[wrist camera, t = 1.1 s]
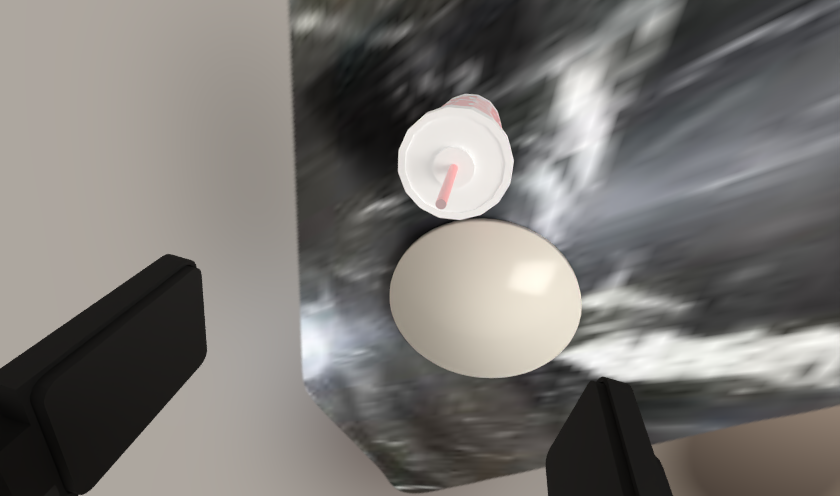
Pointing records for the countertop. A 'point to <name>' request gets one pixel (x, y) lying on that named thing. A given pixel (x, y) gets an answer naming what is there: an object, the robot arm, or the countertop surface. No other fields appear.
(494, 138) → the beverage cup
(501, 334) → the dish
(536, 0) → the countertop surface
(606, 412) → the robot arm
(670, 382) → the countertop surface
